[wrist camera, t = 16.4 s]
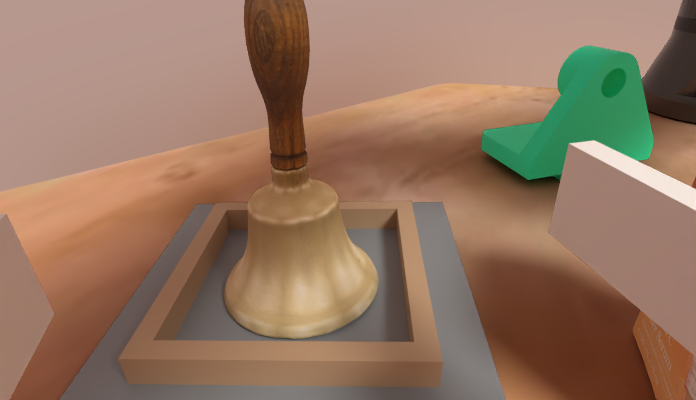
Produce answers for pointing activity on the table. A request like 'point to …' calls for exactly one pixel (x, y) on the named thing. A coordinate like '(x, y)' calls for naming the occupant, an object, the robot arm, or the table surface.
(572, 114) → the camera mount
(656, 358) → the small box
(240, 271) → the hand bell
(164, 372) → the bell board
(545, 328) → the table surface
